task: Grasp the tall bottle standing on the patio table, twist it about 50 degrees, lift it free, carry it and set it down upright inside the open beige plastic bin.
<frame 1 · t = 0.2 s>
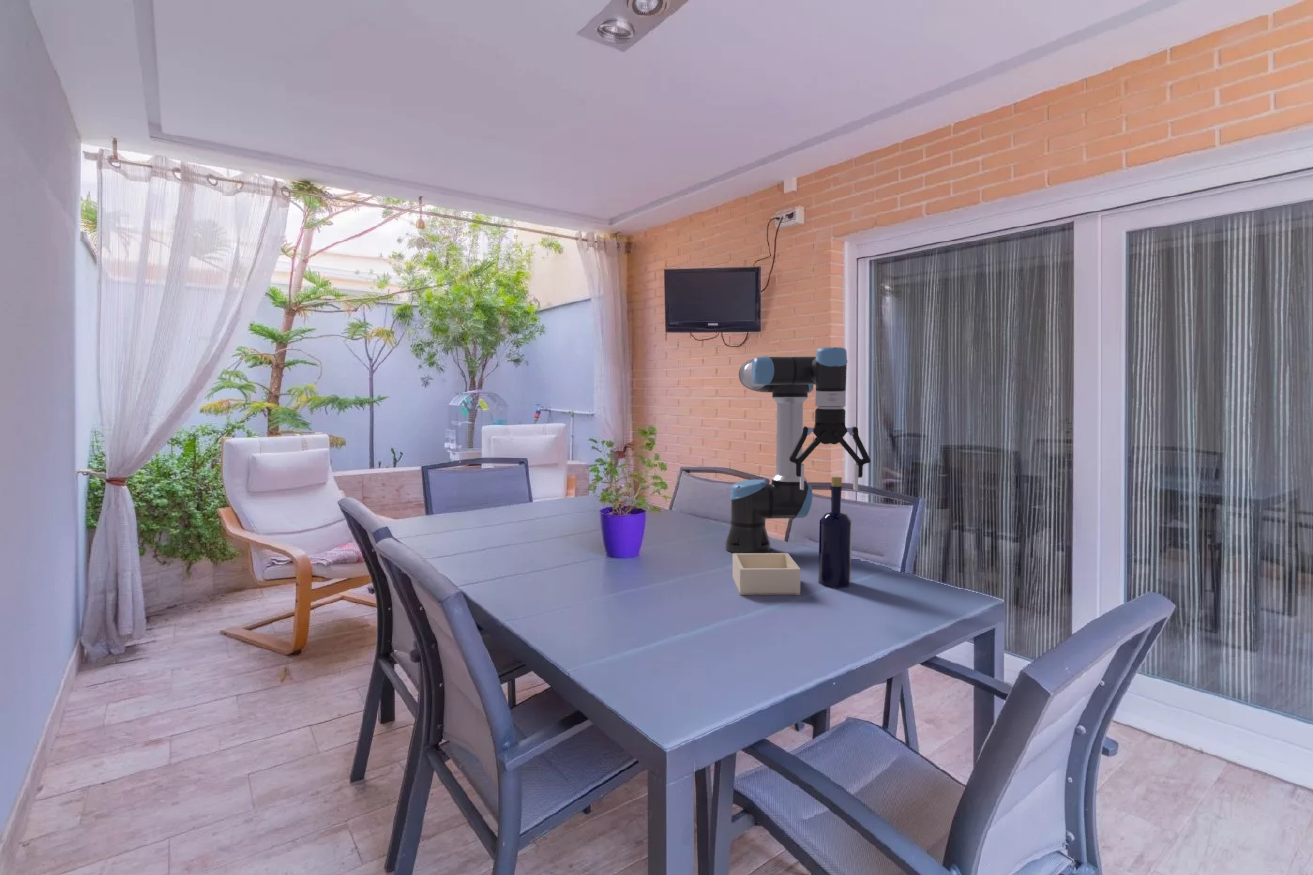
hand: (828, 489, 164), 28 cm above the table, fingers open, 13 cm apart
bin: (764, 585, 176), on the table
bottle: (834, 583, 178), on the table
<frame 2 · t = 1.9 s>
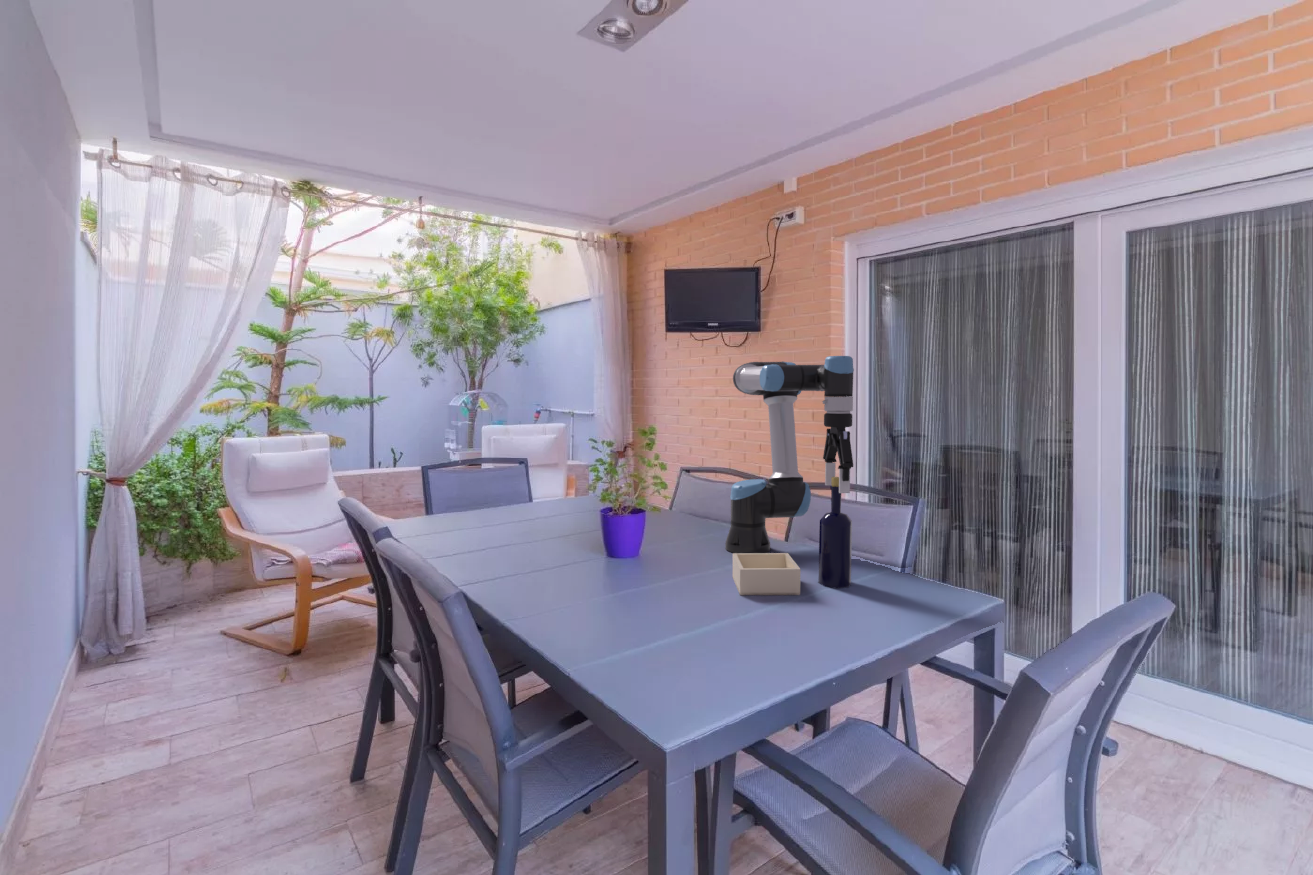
hand: (836, 489, 175), 27 cm above the table, fingers open, 13 cm apart
nothing on the table moved.
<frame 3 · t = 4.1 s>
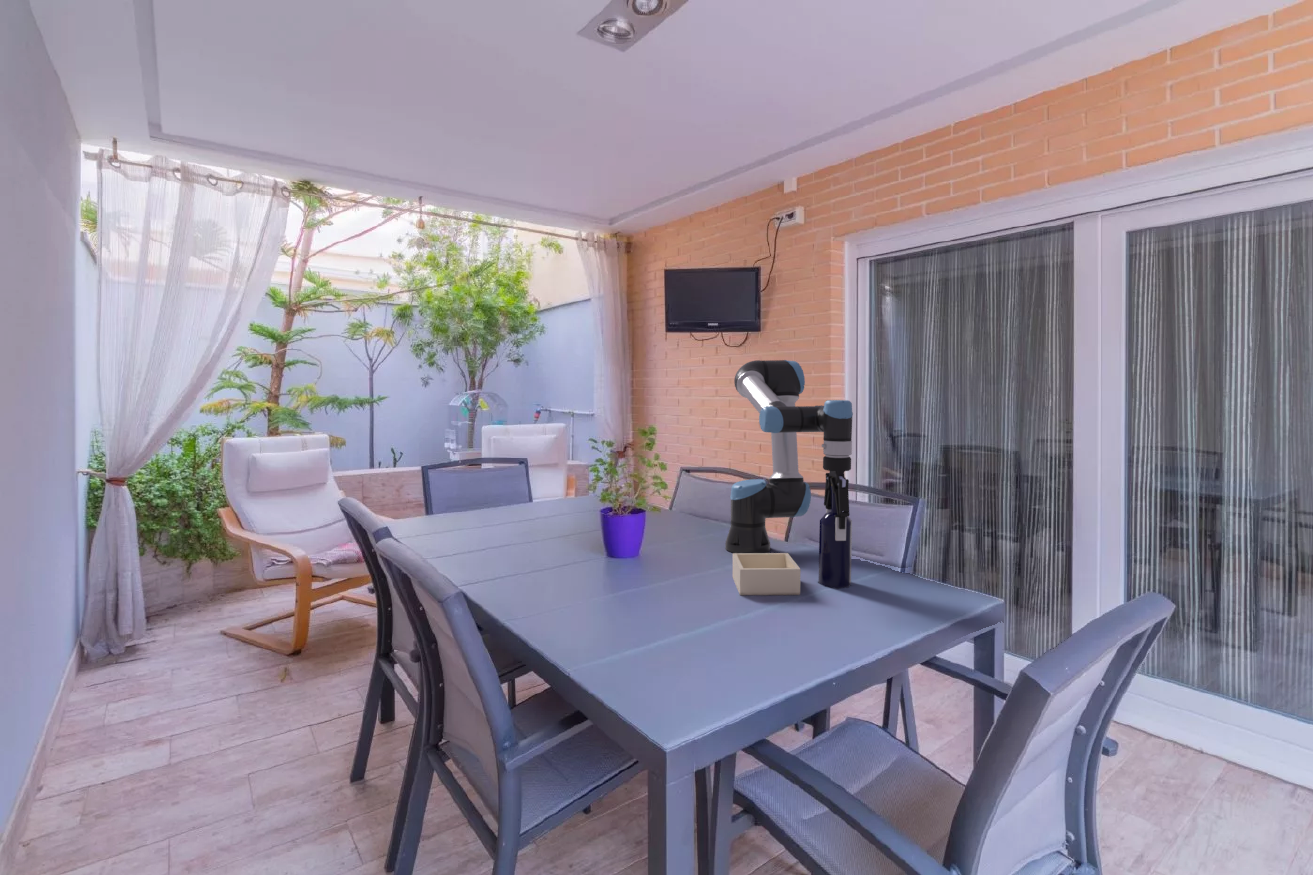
hand: (835, 536, 177), 13 cm above the table, fingers closed on bottle, 9 cm apart
bottle: (834, 583, 178), on the table, touching gripper
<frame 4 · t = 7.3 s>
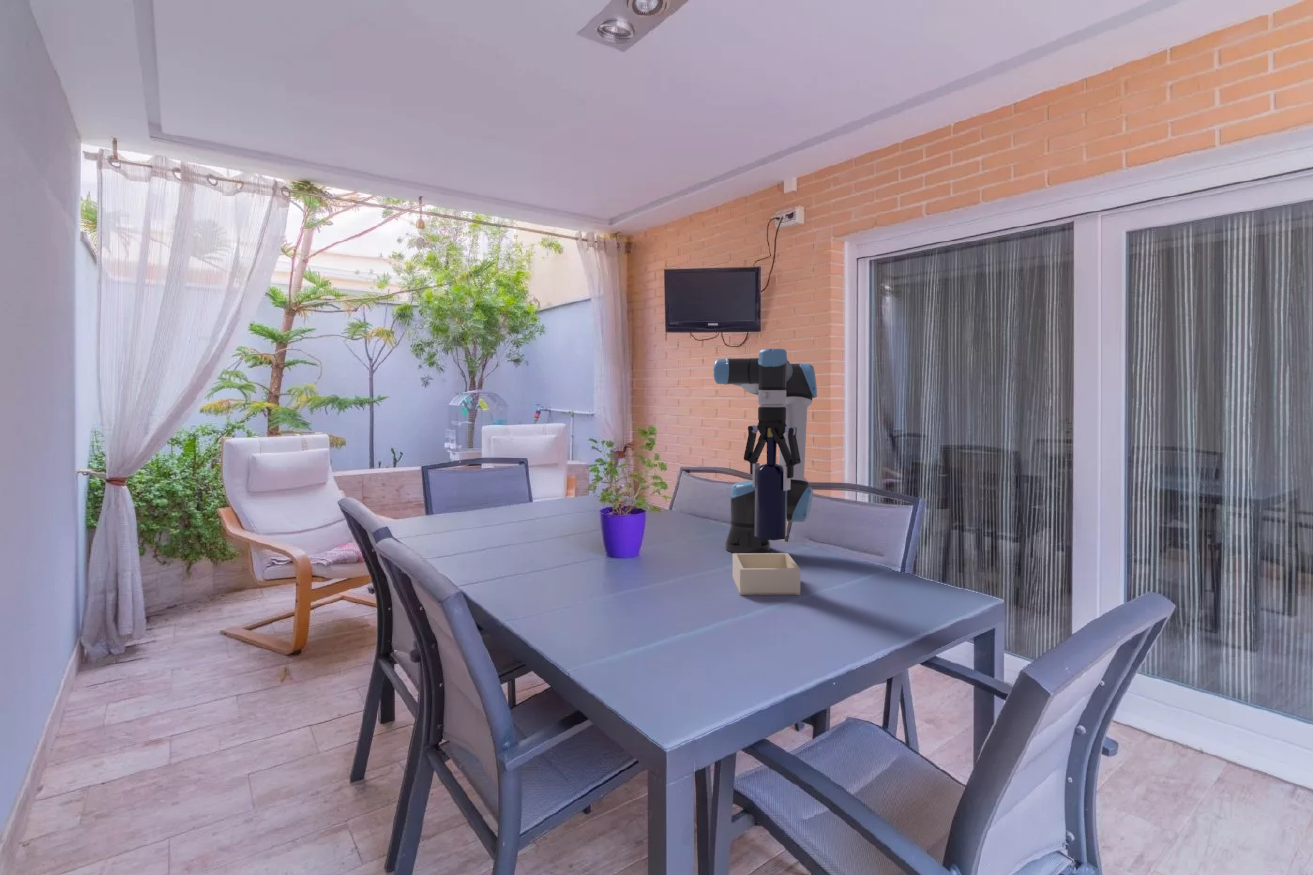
hand: (771, 488, 174), 27 cm above the table, fingers closed on bottle, 9 cm apart
bottle: (770, 536, 175), point 14 cm above the table, touching gripper
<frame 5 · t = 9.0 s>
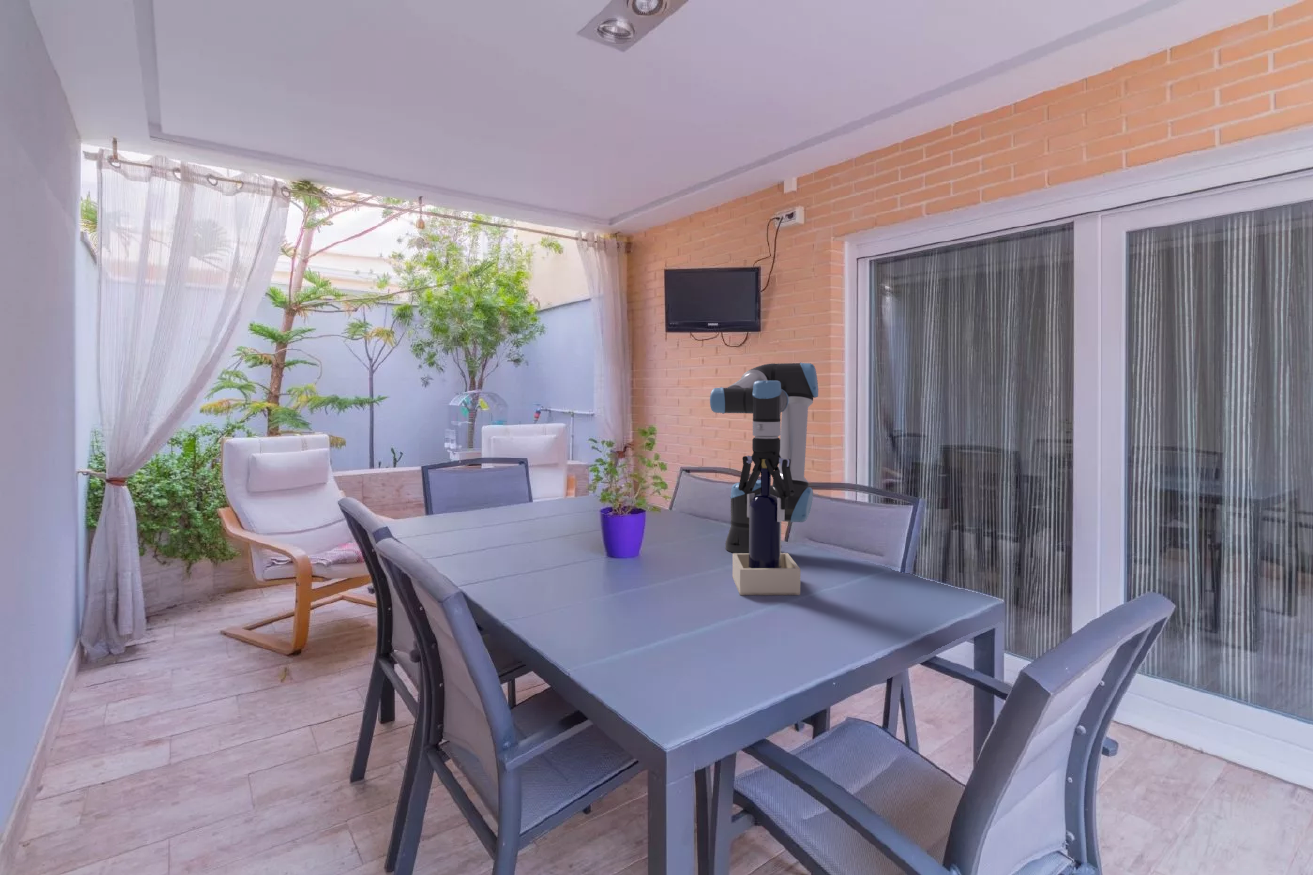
hand: (765, 518, 174), 19 cm above the table, fingers closed on bottle, 9 cm apart
bottle: (764, 567, 175), point 5 cm above the table, touching gripper
when the fingers open (16 cm above the table, at t = 10.5 s): bottle drops 2 cm, resting on bin.
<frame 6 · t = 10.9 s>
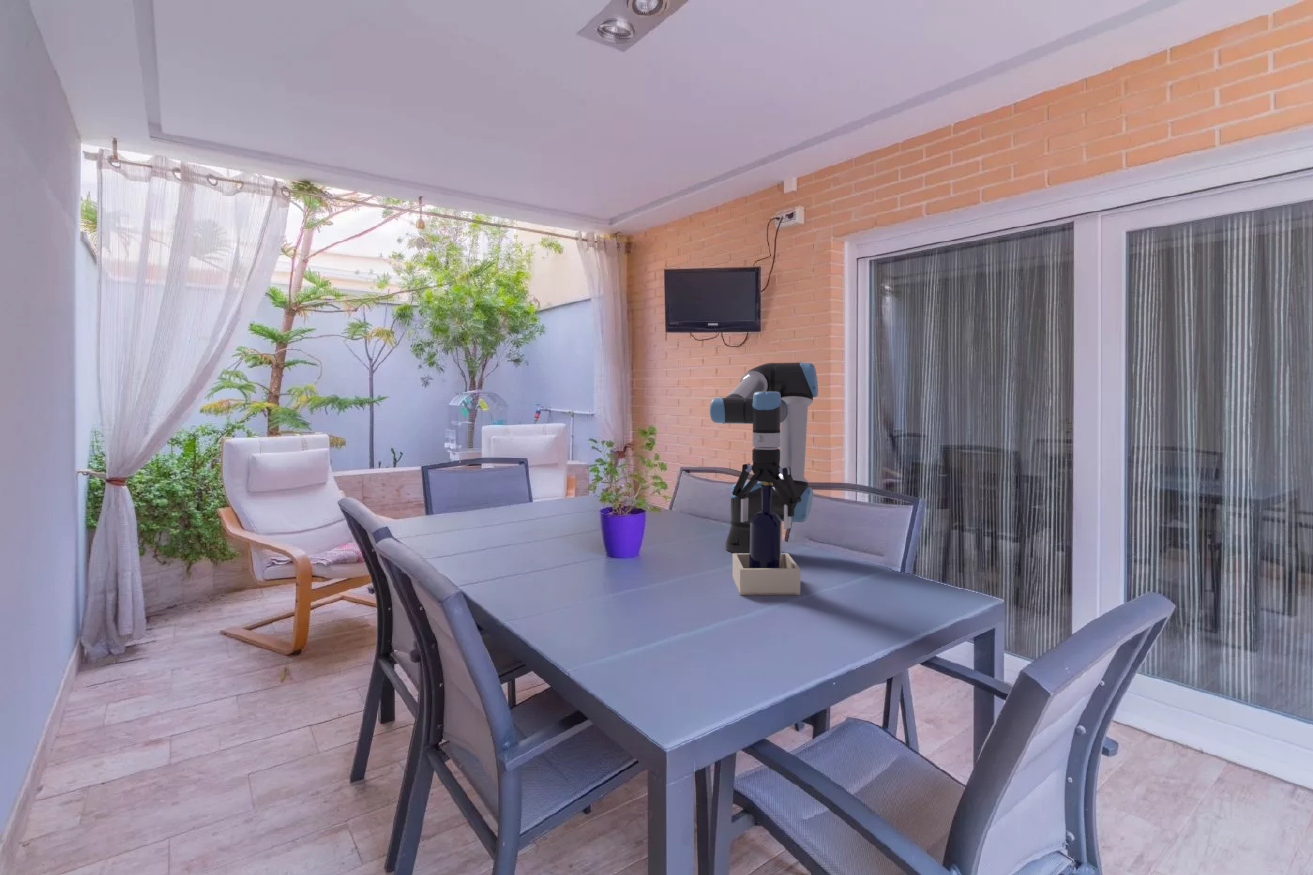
hand: (765, 524, 174), 17 cm above the table, fingers open, 13 cm apart
bottle: (764, 583, 176), resting on bin
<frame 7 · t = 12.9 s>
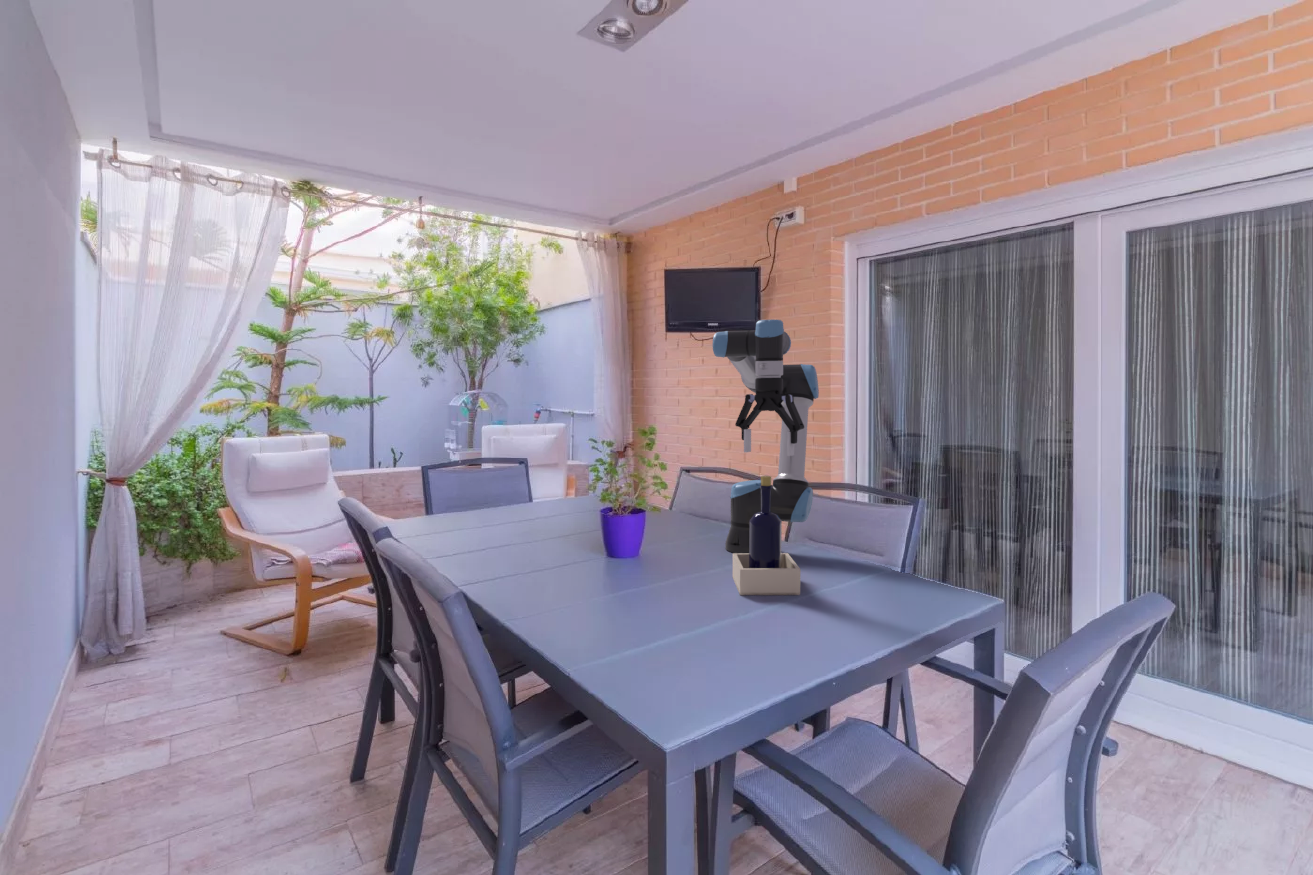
hand: (768, 453, 175), 37 cm above the table, fingers open, 13 cm apart
nothing on the table moved.
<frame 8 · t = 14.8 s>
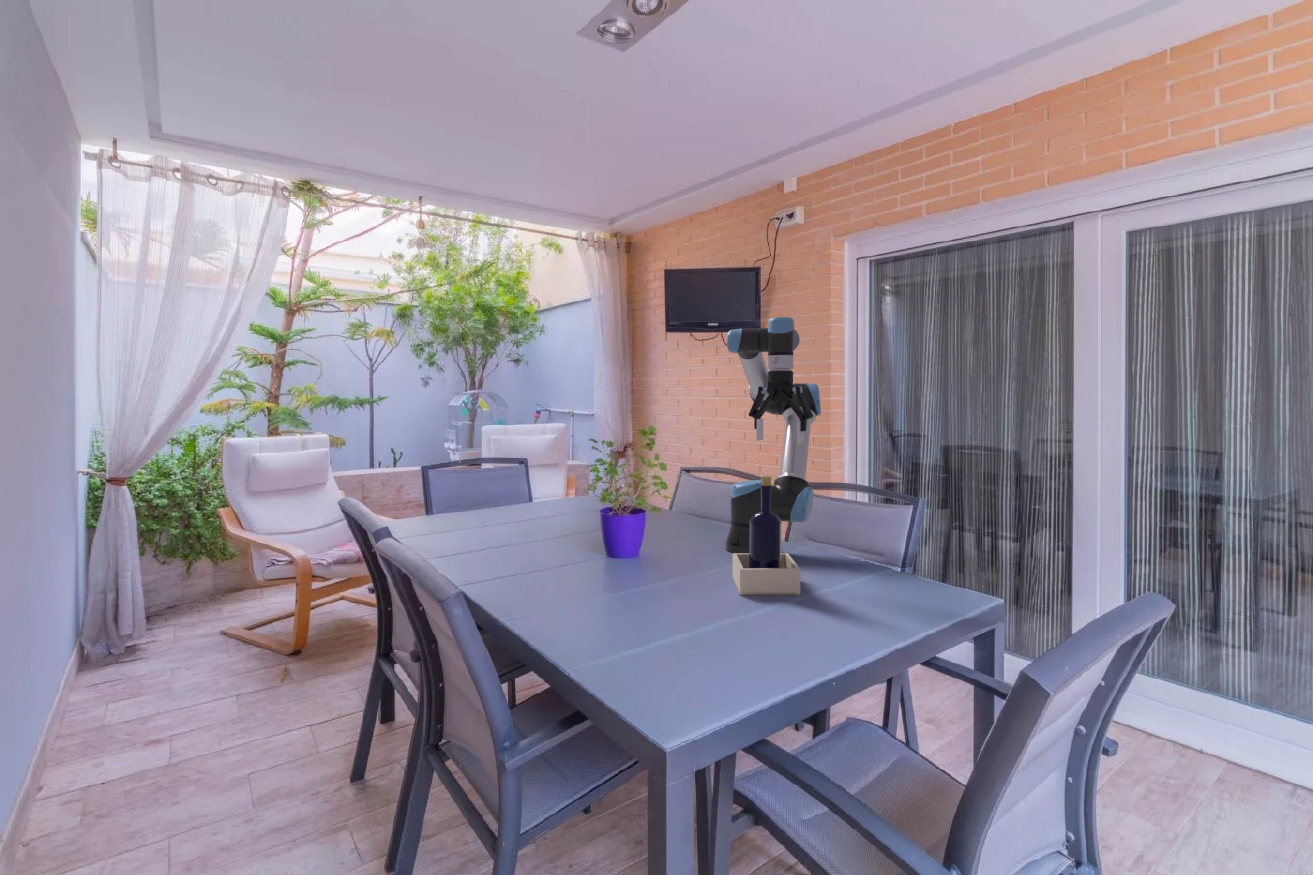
hand: (779, 441, 189), 39 cm above the table, fingers open, 13 cm apart
nothing on the table moved.
at the end: bottle inside the target area on the bin (0.0 cm from its centre), point 0.4 cm above the bin's base; bottle tilted 0°; the gripper is holding nothing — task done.
